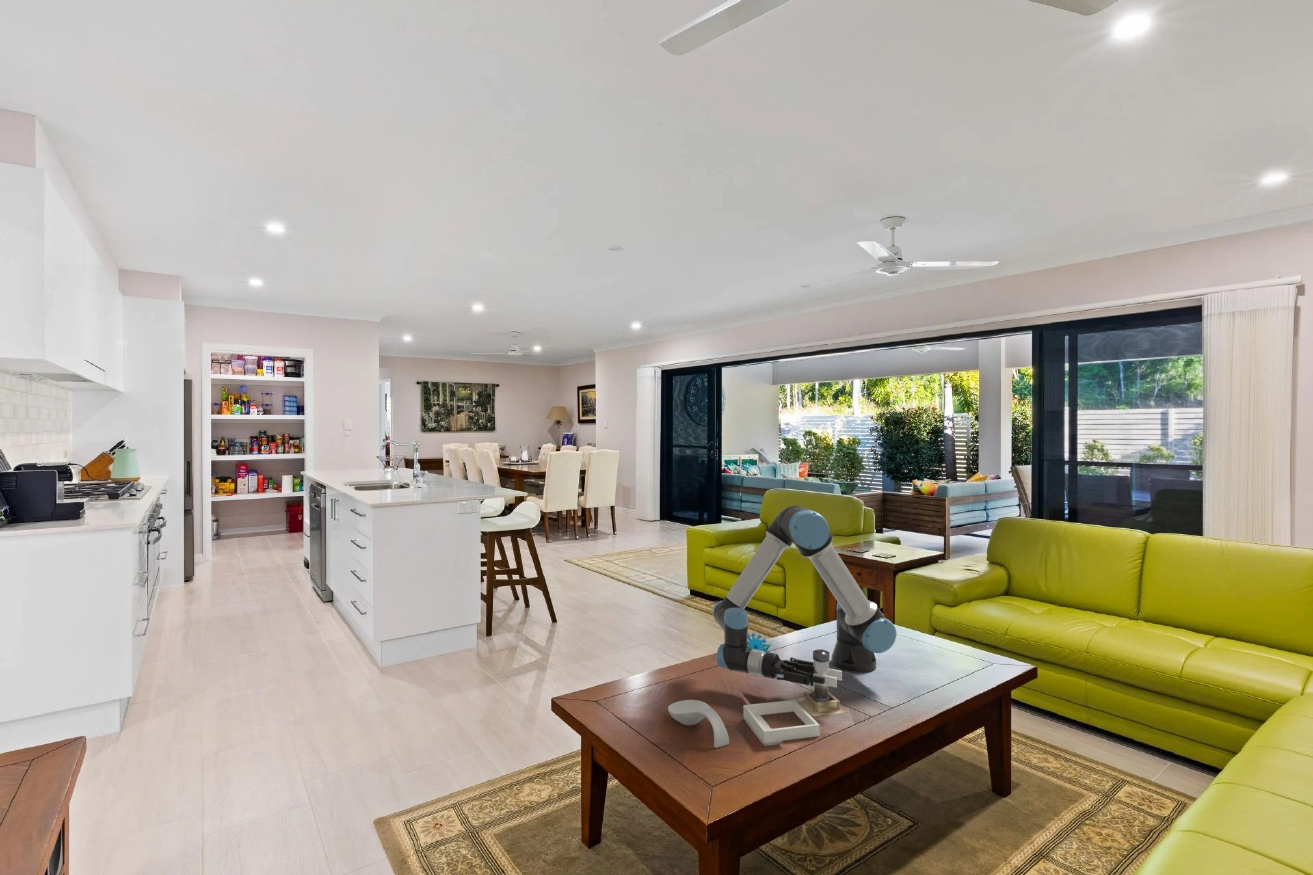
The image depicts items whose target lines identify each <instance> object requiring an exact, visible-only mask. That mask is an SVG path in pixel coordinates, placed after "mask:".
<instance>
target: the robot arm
mask: <svg viewBox="0 0 1313 875" xmlns="http://www.w3.org/2000/svg"><path fill="white" fill-rule="evenodd" d="M833 542H834V537H833V535H832V534H831V533H830V526H829V523H828V522H827V520H826V518H825V517H824V516H823V515H821V514H820V513H818V511H814V510H811V509H809V508H806V507H803V506H800V505H789V506H786V507H785V508H783V509H782V510H781V511H780V512H778V514H777V515H776V516H775V518H774V519H773V521H772V522H771V524H770V525H769V526H768V527H767V530H766V531H765V537H764V539H763V541H762V542H761V544H759V547H758V548H757V549H756V551H755V552H754V554H753V555H752V557H751V558H750V559H749V561H748V562H747V564H746V566H745V567H744V569H743V570H742V571H741V573H740V575H739V576H738V578H737V579H736V581H735V582H734V583H733V585H732V587H731V588H730V589H729V591H728V592H727V594H726V595H725V597H724V598H723V599H722V600H720V601H718V602H717V603H715V604H714V606H713V609H712V616H713V618H714V620H715V622H716V623H717V624H718V625H719V626H720V627H721V629H722V631H723V633H724V636H723V638H724V641H723V642H724V643H721V644H720V645H719V646H718V647H717V651H716V652H717V653H716V654H715V655H716V664H717V665H718V667H720V668H723V669H725V670H729V671H735V672H740V673H745V674H748V675H749V674H750V675H754V676H755V677H758V676H759V677H762V676H763V678H767V679H773V680H775V679H776V680H777V681H787V682H791V683H796V684H800V685H805V686H811V687H814V683H817V684H821V685H826V686H829V687H832V688H837V687H838V681H843V671H845V672H851V673H866V672H872V671H874V670H876V669H877V659H876V656H875V654H882V653H885V652H887V651H889V650H890V649H891V648H892V647H893V646H894V644H895V642H896V638H897V628H896V626H895V625H894V623H893V622H892V621H891V620H890V619H888V618H886V617H885V615H884V613H882V610H880V608H879V606H878V605H877V604H876V603H875V602H874V601H870V599H869V600H868V597H866V595H865V593H864V592H863V590H862V589H861V588H860V585H859V584H858V582H857V581H856V579H855V578H854V577H853V575H852V574H851V572H850V570H849V568H848V567H847V565H846V564H845V563H844V561H843V559H842V558H841V556H840V555H839V553H838V551H836V549H835V547H834V546H833ZM792 544H793V545H794V546H795V548H796V549H797V550H798V552H799V553H800V555H801V556H802V557H803V558H808V559H809V560H810V563H812V565H813V567H814V568H815V569H816V571H817V572H818V574H819V575H820V577H821V578H822V580H823V582H824V583H825V584H826V586H827V588H828V589H829V590H830V592H831V595H833V597H834V599H835V600H836V601H837V603H836V610H835V611H836V643H835V645H834V648H833V651H832V653H831V664H832V665H833V666H834V667H835V668H837V669H835V668H829V676H827V675H822V674H817V673H815V674H814V661H809V660H803V659H799V658H796V657H795V658H794V657H790V658H789V660H788V659H781V658H780V655H779V654H778V653H774V652H770V651H769V652H767V653H766V652H765V651H760V650H754V649H749V648H748V646H749V645H748V642H749V639H748V634H749V619H748V616H749V615H748V612H747V610H746V609H745V608H746V607H747V606H748V604H749V602H750V601H751V599H752V598H753V596H754V595H755V594H756V592H757V591H758V589H759V588H760V587H761V584H762V583H763V582H764V581H765V580H766V577H767V576H768V574H769V573H770V572H771V570H772V569H773V567H774V566H775V564H776V562H777V561H778V560H779V558H780V557H781V555H782V554H783V552H784V551H785V549H790V548H791V546H792ZM838 669H839V670H838Z"/></svg>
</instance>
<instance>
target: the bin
mask: <svg viewBox="0 0 1313 875" xmlns="http://www.w3.org/2000/svg"><path fill="white" fill-rule="evenodd" d="M742 706H743V711H742V713H743V720H744V722H745V723H746V724H747V726H748V727H749V728H750V730H751V731H752V732H753V734H754V735H755V736H756V738H757V739H758V740H759V741H760V743H761V744H762V745H763V747H768V746H769V747H771V746H778V745H784V744H785V743H784V741H790V740H800V739H807V738H813V737H814V738H816V737H820V735H821V730H820V728H821V726H820V724H819V722H817V720H816V719H815V718H813V716H811V715H810V714H809V713H808V712H807V711H806V710H805V709H804V708H803V707H802V706H801V705H800V704H799V703H798V702H797V701H796V700H795V699H790V700H781V701H769V702H763V703H753V704H752V703H751V704H743V705H742ZM792 712H794V714H795V715H796V716H797V717H798V718H799V720H801V722H803V723H804V724H803V725H802V724H801V725H796V726H795V725H794V726H787V727H786V726H785V727H778V728H772V726H770V725H769V723H768V722H767V721H766V719H765V718H764V717H763V716H764V715H773V714H781V713H782V714H783V713H792Z"/></svg>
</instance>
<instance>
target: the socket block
mask: <svg viewBox="0 0 1313 875" xmlns="http://www.w3.org/2000/svg"><path fill="white" fill-rule="evenodd" d="M813 693H814V691H806V692H803V693H802V697H798V698H794V700H795V701H796V702H797V703H798V704H799V705H800V706H801V707H802V708H803V709H804V710H805V711H806V712H807V713H808V714H809V715H810V716H811V717H820V716H828V715H829V716H830V715H838V714H846V713H847V714H848V713H850V711H849V710H848V709H847V708H846V707H845V706H844V705H842V704H841V701H840V700H839V699H838V698H837V697H835V696H834V694H832V693H831V692H830V691H829V696H830V701H824V702H816V701H815V700H814V699H813Z"/></svg>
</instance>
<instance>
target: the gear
mask: <svg viewBox="0 0 1313 875" xmlns="http://www.w3.org/2000/svg"><path fill="white" fill-rule="evenodd" d="M756 635H757V634H756V633H755V632H752V633H748V648H749V649H754V650H760V651H765V652H766V653H767V652H770V650H769V648H770V647H772V644H771V643H767V644H765V643H766V642H767V639H766V638H763V639H761V638H762V635H761V634H760V633H759V634H758V635H757V637H756ZM755 637H756V638H755Z"/></svg>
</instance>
